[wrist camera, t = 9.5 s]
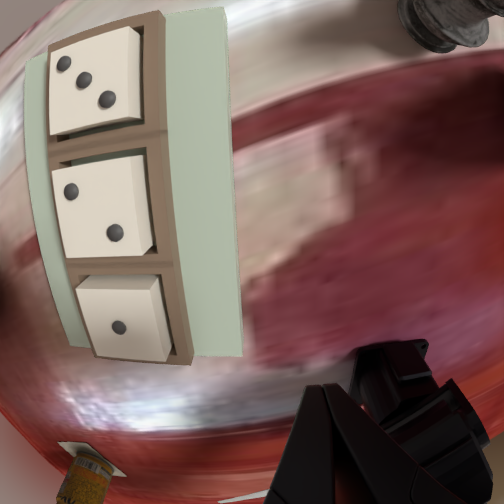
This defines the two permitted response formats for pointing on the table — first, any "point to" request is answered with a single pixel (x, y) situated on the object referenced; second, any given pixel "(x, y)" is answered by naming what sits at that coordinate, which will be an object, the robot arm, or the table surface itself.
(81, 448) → the condiment
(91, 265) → the board
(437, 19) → the grey tall tapered piece
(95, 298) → the one-pip key
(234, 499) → the butter knife
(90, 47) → the three-pip key
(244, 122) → the table surface
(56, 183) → the two-pip key
